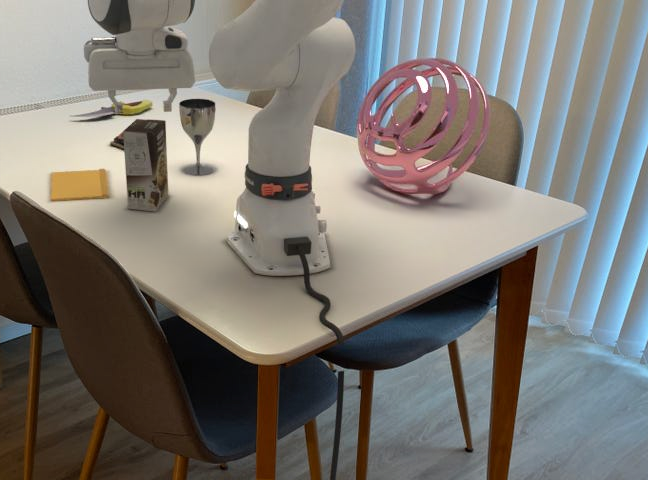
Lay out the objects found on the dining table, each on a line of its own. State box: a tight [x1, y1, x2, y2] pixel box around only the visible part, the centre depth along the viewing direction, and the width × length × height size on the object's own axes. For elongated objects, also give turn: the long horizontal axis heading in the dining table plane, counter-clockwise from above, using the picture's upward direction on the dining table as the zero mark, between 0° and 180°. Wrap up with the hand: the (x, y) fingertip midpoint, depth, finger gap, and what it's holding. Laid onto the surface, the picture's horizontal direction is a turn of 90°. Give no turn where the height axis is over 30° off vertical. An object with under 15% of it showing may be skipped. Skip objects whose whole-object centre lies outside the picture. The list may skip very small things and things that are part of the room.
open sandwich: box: [109, 131, 124, 150], centre depth 192 cm, size 11×8×4 cm
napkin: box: [50, 168, 110, 202], centre depth 168 cm, size 16×12×1 cm
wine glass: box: [178, 98, 216, 176], centre depth 173 cm, size 8×8×15 cm
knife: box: [70, 99, 153, 118], centre depth 212 cm, size 8×3×25 cm
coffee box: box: [122, 118, 169, 213], centre depth 156 cm, size 9×6×16 cm
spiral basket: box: [356, 57, 492, 196], centre depth 164 cm, size 28×28×27 cm
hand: (143, 111), depth 151 cm, fingers open, 8 cm apart
